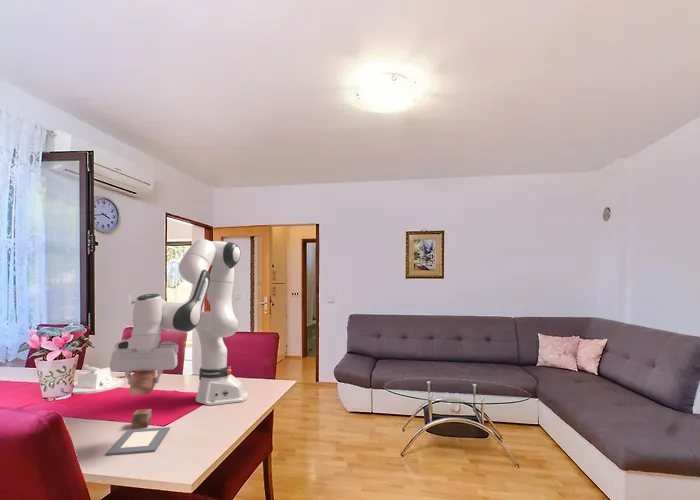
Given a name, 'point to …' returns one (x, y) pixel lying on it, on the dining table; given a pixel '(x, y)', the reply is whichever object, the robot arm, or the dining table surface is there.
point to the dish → (95, 381)
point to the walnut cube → (141, 418)
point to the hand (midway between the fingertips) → (143, 383)
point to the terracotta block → (142, 382)
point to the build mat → (139, 441)
